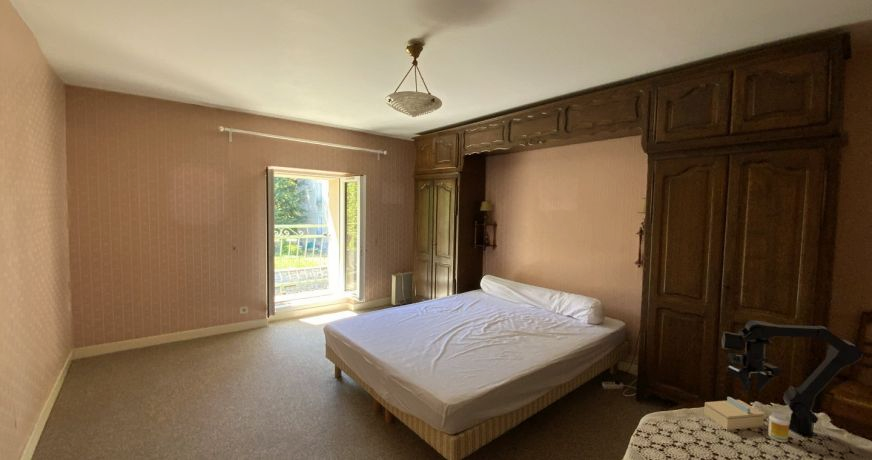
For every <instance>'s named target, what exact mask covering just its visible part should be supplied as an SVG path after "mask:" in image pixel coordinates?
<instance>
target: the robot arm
mask: <svg viewBox="0 0 872 460" xmlns="http://www.w3.org/2000/svg"><path fill="white" fill-rule="evenodd" d="M776 337H785V338H787V337H789V338H805V339H808V338H809V339H821V340H823V341H825V342H826V343H827V344H829V347H828V349H827V351H826V352H827V353H826V358H824V359H823V361H822V362H821V363H820V364H819V365H818V367H817V368H816V369H815V370H814V371H812V373H811V374H810V375H809V376H808V377H807V378H806V379H805V381H804V382H803V383H802V384H801V385H799V386H798V387H793V386H792V385H789V387H788V389H787V390H785V391H783V394H784V395H783V397H782V399H783V401H784V403H785V404H786V405H787V407H788V408H789V409H790V410H791V411H792V412H791V414H790V419H789V430H790V429H791V430H790V431H792V432H794V433H796V434H798V435H799V436H801V437H803V438H808V437H818V436H819V434H818V433H817V432H815V431H814V430H815V429H814V428H815V426H814V425H815V424H817V422H818V421H819V417H818V416H817V415H816V414H815V413H814V412H813V410H812V408H813V407H814V404H815V400H816V397H817V396H818V395H819V393H820V392H821V391H822V390H823V389H824V388H825V387H826V386H827V385H828V384H829V383H830V382H831V380H832V379H834V377H835V376H837V374H839V372H840V371H841V370H842V369H843V368H845V367H849V366H851V365H854V364H855V363H857V362H858V361H860V360H861V359H862V357H864V356H863V355H864V354H863V351H862V350H861V348H859V347H858V346H856V345H855V344H854V343H852V342H850V341H848V340H846V339H843V338H842V339H841V338H840V337H838V336H837V335H835V333H833V332H831V330H829V329H828V328H827V327H825V326H823V325H798V324H797V325H793V324H775V323H770V322H766V321H763V320H756V319H755V320H753V319H752V320H749V321H747V322H746V323H745V326H744V328H742V329H741V330H739V331H738V333H734V332H730V331H723V335H722V337H721V348H722V349H725V350H729V351H737V352H741V351H744V350H745V352H742V353H741V354H736V353H732V352H730V353H729V352H728V353H727V360H728V361H729V362H731V364H732V365H727V367H726V372H727V373H728V374H731V375H732V376H735V377H737V378H739V380H740V383H741V387H742V389H743V390H744V392H745V393H748V392H749V390H750V388H751V386H752V383H753V380H754V378H753V377H751V374H755V376H756V390H757V391H759V392H761V391H763V389H764V388H765V387H766V385H767V384H768V383H769V382H770V381H772V379H774V378H775V377H779V376H782V370H781V369H780V368H779V367H778V366H775V365H773V364H771V363H768V362H767V361H768V357H765V356H766V355H765V354H766V346H774V345H773V342H772V341H770V340H769V339H772V338H776ZM765 361H766V362H765ZM738 364H739V365H740V366H739V365H738Z"/></svg>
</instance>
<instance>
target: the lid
mask: <svg viewBox="0 0 872 460" xmlns="http://www.w3.org/2000/svg"><path fill="white" fill-rule="evenodd" d="M726 399H727V400H718V401H706V402H704V406H705V405H707V406H708V407H710V408H712V409H713V410H715V411H716V412H718V413H720V414H721V415H723V416H724V417H726V418H728V419H729V418H741V417H753V416H764V417H765V413H764V412H762V411H760V410H758V409H757V408H755V407H753V406H751V405H749V404H748V403H746V402H744V401H742V400H740V399H734V398H733V397H732V396H727V397H726Z"/></svg>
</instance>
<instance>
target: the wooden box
mask: <svg viewBox="0 0 872 460" xmlns="http://www.w3.org/2000/svg"><path fill="white" fill-rule="evenodd" d="M703 412H704V413H703V417H706V418H707V417H708V418H707V419H709V418H710V419H711V420H710V419H709V420H710V421H712V420H713V421H715V422H716V423H717V424H716V423H715V422H714V423H715V424H716V425H718V424H719V425H720V426H719V425H718V426H719V427H721V426H722V427H723V430H725V429H726V430H725V431H727V430H729V431H736V430H735V429H740V430H748V429H747V428H752V429H757V428H756V427H763V428H764V423H765V422H764V421H765V415H764V416H753V417H741V418H729V419H728V418H726V417H724V416H723V415H721V414H720V413H718V412H716V411H715V410H713V409H712V408H710V407H708V406H707V405H705V404H704V411H703ZM713 421H712V422H713ZM722 427H721V428H722Z"/></svg>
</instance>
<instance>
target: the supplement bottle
mask: <svg viewBox="0 0 872 460" xmlns="http://www.w3.org/2000/svg"><path fill="white" fill-rule="evenodd" d="M787 418H788V414H787V413H786V412H784V411H782V410H779V409H772V410H771V415H769V416H768V427H767V434H768V436H769V437H770V438H771V439H773V440H774V441H776V442H780V443H781V442H783V443H787V442H788V441H789V430H790V429H789V425H790V420H788V419H787Z"/></svg>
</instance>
